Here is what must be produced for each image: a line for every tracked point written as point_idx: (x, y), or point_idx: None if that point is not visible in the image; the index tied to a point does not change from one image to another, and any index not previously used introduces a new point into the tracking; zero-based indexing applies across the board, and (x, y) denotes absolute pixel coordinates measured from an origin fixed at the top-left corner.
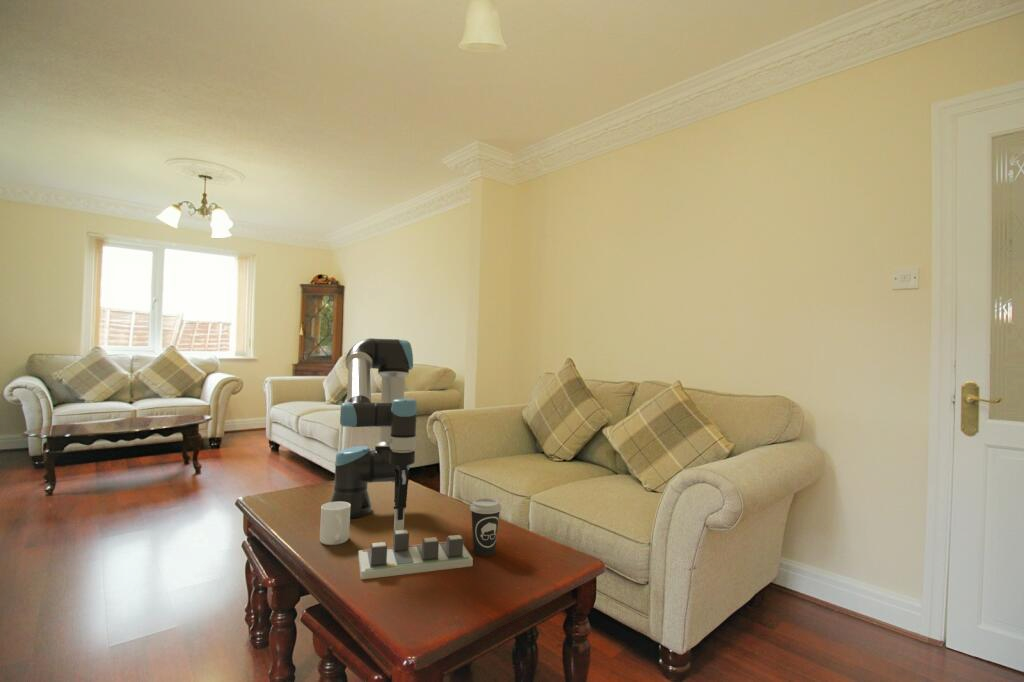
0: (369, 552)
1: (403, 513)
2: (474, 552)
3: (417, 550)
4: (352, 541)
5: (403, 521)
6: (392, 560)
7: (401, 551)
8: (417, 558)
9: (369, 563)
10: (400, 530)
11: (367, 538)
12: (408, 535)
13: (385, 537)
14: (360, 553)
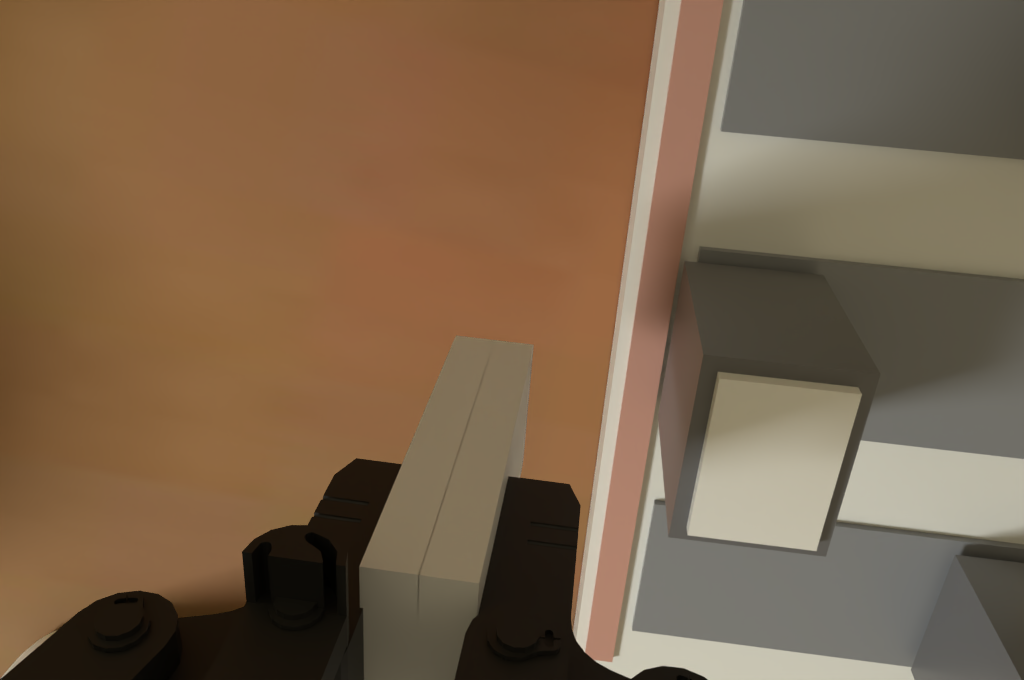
0: (678, 623)
1: (492, 519)
2: None
3: (853, 151)
4: (186, 599)
5: (514, 424)
6: (980, 480)
7: None
8: None
9: None
10: (710, 468)
11: (130, 482)
12: (870, 369)
13: (124, 324)
14: None
